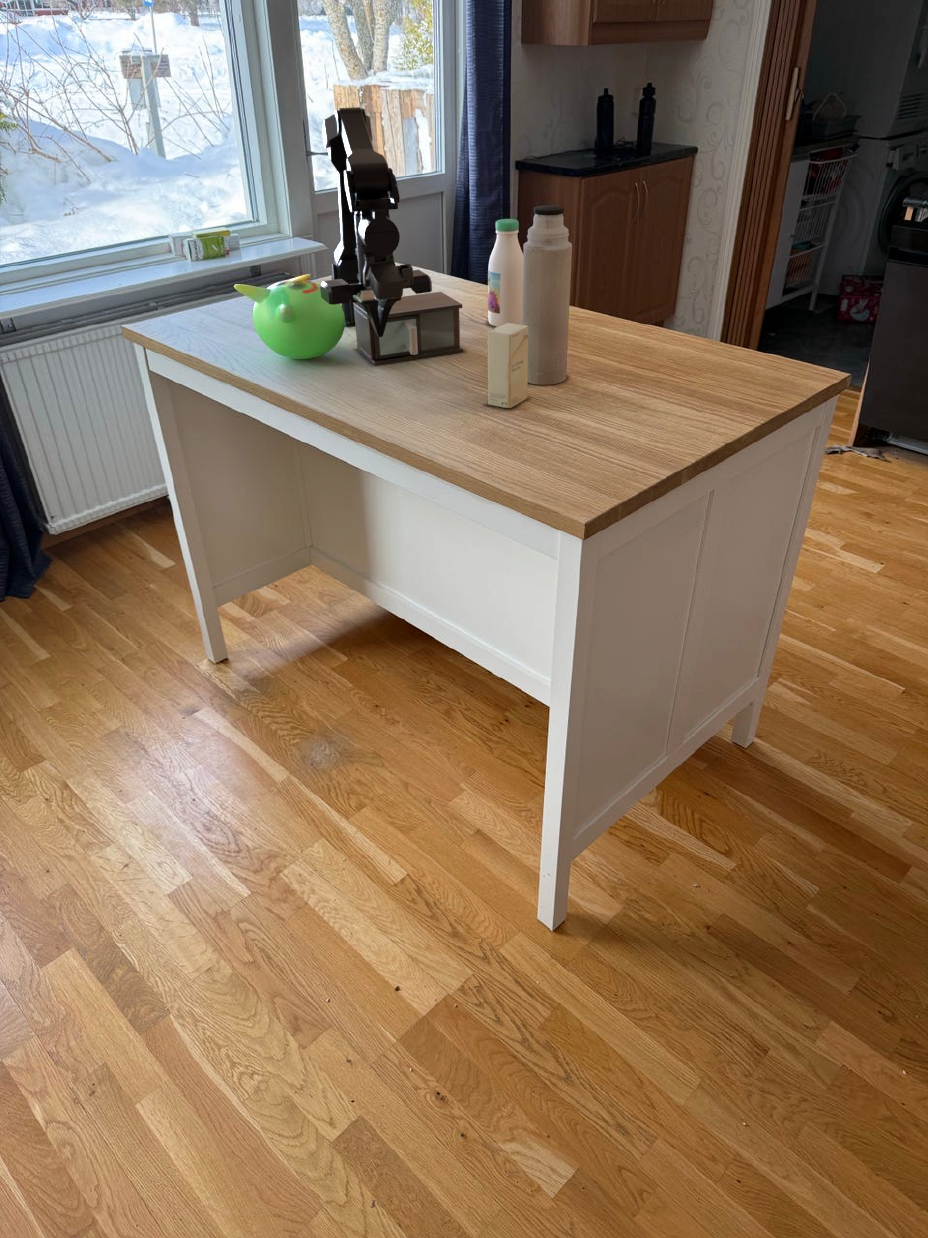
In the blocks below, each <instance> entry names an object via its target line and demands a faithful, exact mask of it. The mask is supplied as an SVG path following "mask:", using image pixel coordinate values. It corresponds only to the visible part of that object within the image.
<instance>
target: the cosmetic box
mask: <svg viewBox="0 0 928 1238" xmlns="http://www.w3.org/2000/svg"><path fill="white" fill-rule="evenodd" d="M487 386H488V387H487V395H488V396H487V403H488V405H489V406H494V407H499V408H502V409H503V408H504V409H512V408H513V407H515V406H517V405H518V404H521V403H522V402H523V401H525V400H526V399H528V326H527V325H522V324H521V325H519V324H512V323H504V324H502V325H500V326H495V327H494V328H492V329H490V330H488V331H487Z"/></svg>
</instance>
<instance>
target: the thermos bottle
mask: <svg viewBox="0 0 928 1238" xmlns="http://www.w3.org/2000/svg"><path fill="white" fill-rule="evenodd" d="M564 213H565V207H563V206H560V205H549V204H547V205H538V206H535V207H533V214H534V216H533V224H532V226H530V227H529V228H528V230H527V235H526V238H527V241H526V242H524V243H523V248H522V249H523V251H522V253H523V311H522V324H521V325H527V326H528V382H527V384H528V383H529V384H533V385H540V386H541V385H542V386H544V385H545V386H546V385H547V386H549V385H555V384H560V383H562V382H564V381H565V380H566V379H567V372H568V349H569V348H568V346H569V345H568V344H569V326H570V325H569V324H570V301H571V282H572V281H571V280H572V277H571V276H572V259H573V258H572V257H573V255H572V253H573V244H572V243H571V242H570V241H569V236H570V233H569V228H568V227H567V226H565V225H564V219H565V218H564Z"/></svg>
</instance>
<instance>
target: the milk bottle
mask: <svg viewBox="0 0 928 1238" xmlns="http://www.w3.org/2000/svg"><path fill="white" fill-rule="evenodd" d="M519 226H520V223H519V220H518V219H513V218H502V219H498V220H496V221H495V233H496V239H495V242H494V246H493V249H492V251H491V253H490V255H489V260H488V270H487V316H488V317H487V318H488V319H487V321H488V323H489V324H490V325H491V326H495V327H498V326H500V325H502V324H504V323H512V324H519V325H522V311H523V251H522V247H521V246H520V242H519V238H518V233H520V232H519Z"/></svg>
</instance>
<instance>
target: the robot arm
mask: <svg viewBox="0 0 928 1238" xmlns="http://www.w3.org/2000/svg"><path fill="white" fill-rule="evenodd" d="M371 123H372V122H371V117H370V116H368V115H367V114H366V109H365V108H361V106H356V107H355V106H354V107H339V108H338V109H335V111H334V114H331V115H330V116H328V117H326V118H325V119H324V120H323V124H322V141H323V146H324V149H326V150H327V153H328V157H329V160H330V162H331V164H332V166H333V167H334V169H335V170H336V176H337V177H336V179H337V192H338V193H337V194H338V211H339V214H338V215H339V228H340V229H339V230H340V241H339V243H338V244H337V247H336V248H335V250H334V252H333V258H334V260H333V261H334V262H333V263H331V279H330V280H323V281H322V282H321V284H320V285H321V287H320V290H321V298H323V299H324V300H325V301H326V302H327V303H329V304H332V305H335V304H340V305H341V307H342V309H343V312H344V317H345V327H349V326H350V327H351V326H355V315H354V304H353V303H357V302H358V303H360V304H361V305H363V307H364V309H365V311H366V312H367V314H368V317H369V319H370V321H371V323H372V326H373V328H374V330H375V332H376V335H377V336H378V337H383V335H384V331H385V327H386V324H387V320H388V316H389V313H390V311H391V308H392V306H393V305H394V304H395V303H396V302H397V301H400V300H401V297H403V295H404V290H405V289H406V290H407V289H410V290H411V291H412V292H413V293H415V295H419V294H427V293H432V292H433V283H432V282H433V281H432V278H431V277H430V276H429V275H428V274H427V273H425V272H424V271H422V270H420V269H414V268H413V266H412V264H411V263H404V264H400V265H396V263H395V258H394V257H395V256H394V252H395V251H396V250H397V248H398V247H399V243H400V237H401V236H400V231H399V228H398V226H397V225H396V223H395V222H393V220H391V217H390V210H391V211H393V210H398V209H399V203H400V199H401V196H400V192H399V187H398V182H397V177H396V175H395V174H394V171H393V169H392V167H389V165H388V162H387V160H386V157H385V156H384V155H383V154H381V153H379V152H377V151H375V149H374V146H373V132H372V124H371Z"/></svg>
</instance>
